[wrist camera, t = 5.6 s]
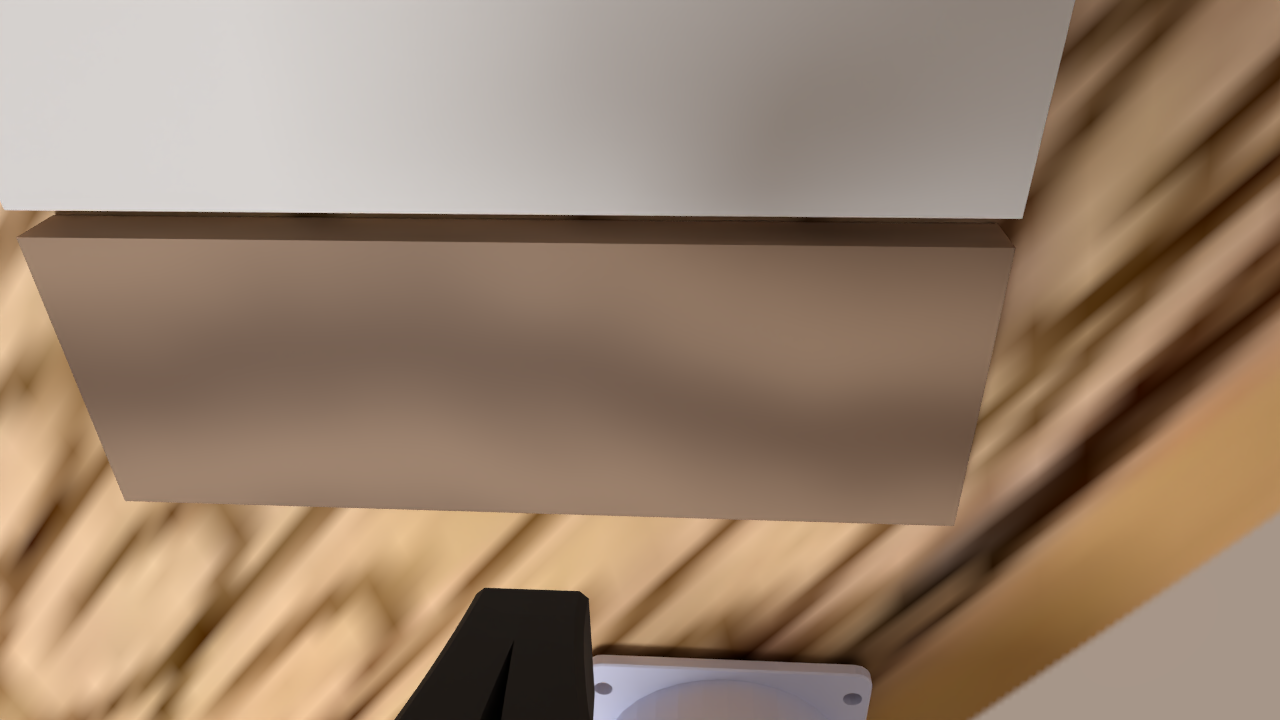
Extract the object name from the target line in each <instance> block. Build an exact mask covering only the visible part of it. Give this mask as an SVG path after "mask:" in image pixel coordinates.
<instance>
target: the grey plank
mask: <svg viewBox="0 0 1280 720" xmlns="http://www.w3.org/2000/svg"><path fill="white" fill-rule="evenodd" d="M1074 3H1075V0H0V202H1V204H2V206H3V208H4V210H52V211H168V212H285V213H402V214H518V215H635V216H752V217H868V218H985V219H1022V218H1023V214H1024V210H1025V205H1026V201H1027V197H1028V193H1029V189H1030V185H1031V181H1032V177H1033V172H1034V168H1035V164H1036V160H1037V156H1038V152H1039V148H1040V144H1041V139H1042V135H1043V131H1044V127H1045V123H1046V119H1047V115H1048V111H1049V106H1050V102H1051V98H1052V94H1053V90H1054V86H1055V82H1056V78H1057V73H1058V69H1059V65H1060V61H1061V57H1062V53H1063V49H1064V45H1065V40H1066V36H1067V32H1068V28H1069V24H1070V20H1071V16H1072V12H1073V7H1074Z"/></svg>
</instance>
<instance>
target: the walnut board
mask: <svg viewBox="0 0 1280 720" xmlns="http://www.w3.org/2000/svg"><path fill="white" fill-rule="evenodd" d="M16 238H17V240H18V243H19V245H20V247H21V250H22V252H23V255H24V257H25V260H26V262H27V264H28V267H29V269H30V272H31V274H32V277H33V279H34V281H35V284H36V286H37V289H38V291H39V293H40V296H41V298H42V301H43V303H44V306H45V308H46V310H47V313H48V315H49V318H50V320H51V323H52V325H53V327H54V330H55V332H56V335H57V337H58V339H59V342H60V344H61V347H62V349H63V352H64V354H65V356H66V359H67V361H68V364H69V366H70V369H71V371H72V373H73V376H74V378H75V381H76V383H77V385H78V388H79V390H80V393H81V395H82V398H83V400H84V402H85V405H86V407H87V410H88V412H89V415H90V417H91V419H92V422H93V424H94V427H95V429H96V431H97V434H98V436H99V439H100V441H101V444H102V446H103V448H104V451H105V453H106V456H107V458H108V461H109V463H110V465H111V468H112V470H113V473H114V475H115V477H116V480H117V482H118V485H119V487H120V490H121V492H122V494H123V497H124V499H125V501H145V502H178V503H211V504H244V505H277V506H310V507H343V508H376V509H409V510H442V511H475V512H508V513H541V514H574V515H607V516H640V517H673V518H706V519H739V520H772V521H805V522H838V523H871V524H904V525H937V526H954V524H955V519H956V515H957V510H958V506H959V501H960V497H961V492H962V488H963V483H964V479H965V474H966V470H967V465H968V461H969V456H970V452H971V447H972V443H973V438H974V433H975V429H976V424H977V420H978V415H979V411H980V406H981V402H982V397H983V393H984V388H985V384H986V379H987V375H988V370H989V366H990V361H991V357H992V352H993V348H994V343H995V338H996V334H997V329H998V325H999V320H1000V316H1001V311H1002V307H1003V302H1004V298H1005V293H1006V289H1007V284H1008V280H1009V275H1010V271H1011V266H1012V262H1013V257H1014V252H1015V247H1014V245H1013V244H1012V243H1011V241H1010V240H1009V238H1008V237H1007V236H1006V234H1005V233H1004V231H1003V230H1002V229H1001V227H1000V226H999V225H998V224H980V223H868V222H756V221H644V220H532V219H420V218H308V217H196V216H84V215H53V216H51V217H49V218H48V219H46V220H44V221H43V222H41V223H39V224H38V225H36V226H34V227H33V228H31V229H29V230H28V231H26V232H24V233H23V234H21V235H19V236H18V237H16Z"/></svg>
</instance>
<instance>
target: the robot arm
mask: <svg viewBox="0 0 1280 720" xmlns="http://www.w3.org/2000/svg"><path fill="white" fill-rule="evenodd" d="M602 682H604V683H602ZM871 691H872V681H871V676H870V673H869V671H868V670H867V669H866V668H864V667H862V666H858V665H847V664H822V663H798V662H773V661H748V660H723V659H699V658H674V657H649V656H625V655H597V656H594V657H592V642H591V627H590V612H589V598H587V597H586V596H585V595H584V594H582V593H581V592H580V591H556V590H528V589H500V588H484V589H482V590H481V591H480V592H479V593H477V594H476V596H475V598H474V599H473V601H472V603H471V605H470V606H469V608H468V610H467V612H466V613H465V615H464V617H463V618H462V620H461V621H460V623H459V625H458V626H457V628H456V630H455V631H454V633H453V634H452V636H451V638H450V639H449V641H448V642H447V644H446V646H445V647H444V649H443V650H442V652H441V653H440V655H439V656H438V658H437V659H436V661H435V662H434V664H433V665H432V667H431V668H430V670H429V671H428V673H427V674H426V676H425V677H424V679H423V680H422V682H421V683H420V685H419V686H418V687H417V689H416V690H415V692H414V693H413V694H412V696H411V697H410V699H409V700H408V702H407V703H406V704H405V706H404V707H403V709H402V710H401V711H400V713H399V714H398V716H397V717H396V718H395V720H866V719H867V713H868V708H869V702H870V697H871ZM849 693H851V694H849Z"/></svg>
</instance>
